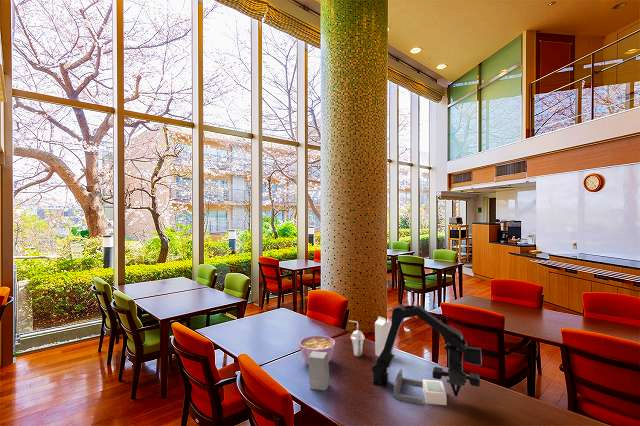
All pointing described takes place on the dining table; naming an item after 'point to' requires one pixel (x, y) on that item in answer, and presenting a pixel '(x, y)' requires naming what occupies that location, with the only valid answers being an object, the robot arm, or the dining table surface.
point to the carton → (434, 392)
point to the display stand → (401, 380)
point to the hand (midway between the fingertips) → (455, 395)
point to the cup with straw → (357, 341)
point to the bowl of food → (316, 346)
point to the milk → (381, 334)
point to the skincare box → (318, 370)
